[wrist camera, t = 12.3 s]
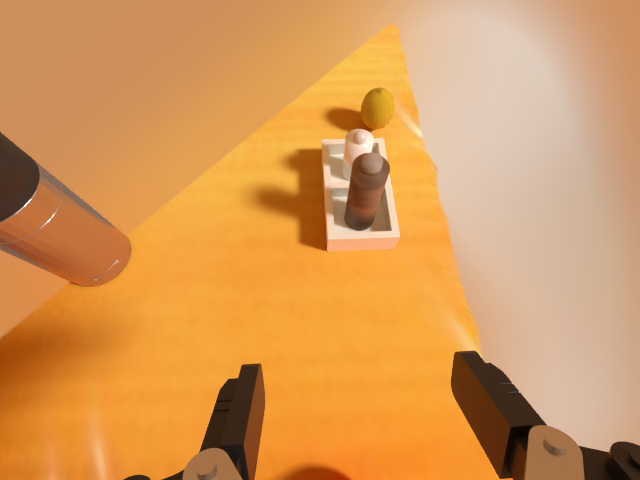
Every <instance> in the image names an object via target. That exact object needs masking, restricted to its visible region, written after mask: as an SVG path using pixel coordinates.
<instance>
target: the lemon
mask: <svg viewBox="0 0 640 480" xmlns="http://www.w3.org/2000/svg"><path fill="white" fill-rule="evenodd" d="M393 112H394V99H393V96H392V94H391V93H390V92H389V91H388V90H386V89H384V88H375V89H373V90H371V91H370V92H369V93H368V94H367V95H366V96H365V98H364V100H363V103H362V107H361V117H362V120H363V122H364V124H365V125H366V126H367V127H369V128H371V129H380V128H382V127H384V126H386V125H387V124H388V123H389V121H390V120H391V118H392V115H393Z"/></svg>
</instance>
